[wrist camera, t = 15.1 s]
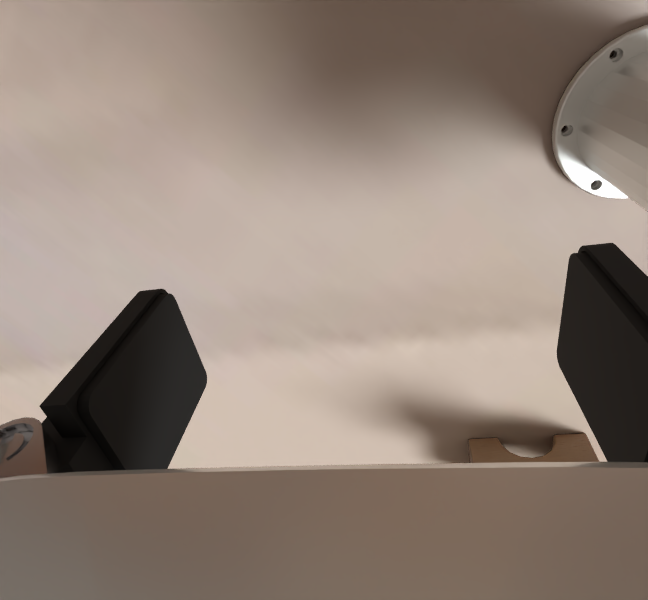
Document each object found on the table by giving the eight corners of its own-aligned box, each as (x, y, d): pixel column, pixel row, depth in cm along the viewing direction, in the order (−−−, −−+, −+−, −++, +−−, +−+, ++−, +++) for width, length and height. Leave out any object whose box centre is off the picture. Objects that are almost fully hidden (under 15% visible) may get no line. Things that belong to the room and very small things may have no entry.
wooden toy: (469, 471, 59) (517, 718, 39) (467, 438, 56) (519, 690, 35) (595, 466, 56) (721, 733, 35) (601, 431, 53) (744, 703, 32)
